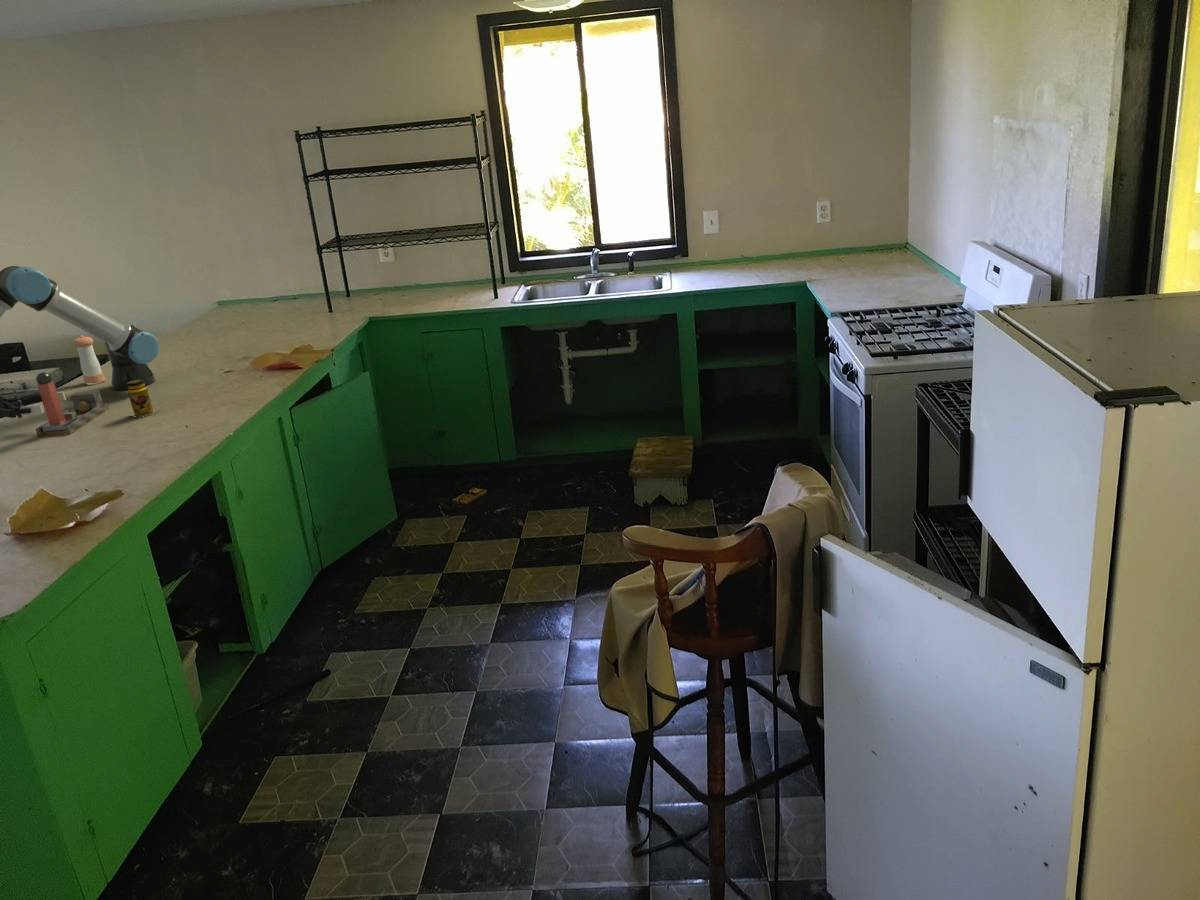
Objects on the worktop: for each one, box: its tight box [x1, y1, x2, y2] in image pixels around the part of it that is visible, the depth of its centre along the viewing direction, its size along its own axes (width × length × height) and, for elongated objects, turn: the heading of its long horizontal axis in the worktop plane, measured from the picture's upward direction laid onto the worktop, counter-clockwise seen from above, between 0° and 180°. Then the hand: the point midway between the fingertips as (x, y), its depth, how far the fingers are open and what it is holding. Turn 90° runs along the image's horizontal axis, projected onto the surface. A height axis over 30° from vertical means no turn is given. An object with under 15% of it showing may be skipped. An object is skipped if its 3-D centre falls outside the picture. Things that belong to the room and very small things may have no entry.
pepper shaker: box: [72, 334, 106, 384], centre depth 367 cm, size 7×7×19 cm
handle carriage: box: [35, 372, 77, 432], centre depth 310 cm, size 9×8×19 cm
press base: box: [35, 389, 110, 438], centre depth 319 cm, size 26×11×7 cm, turn 0°
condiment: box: [127, 379, 160, 417], centre depth 321 cm, size 7×8×12 cm
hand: (53, 402), depth 308 cm, fingers open, 13 cm apart
